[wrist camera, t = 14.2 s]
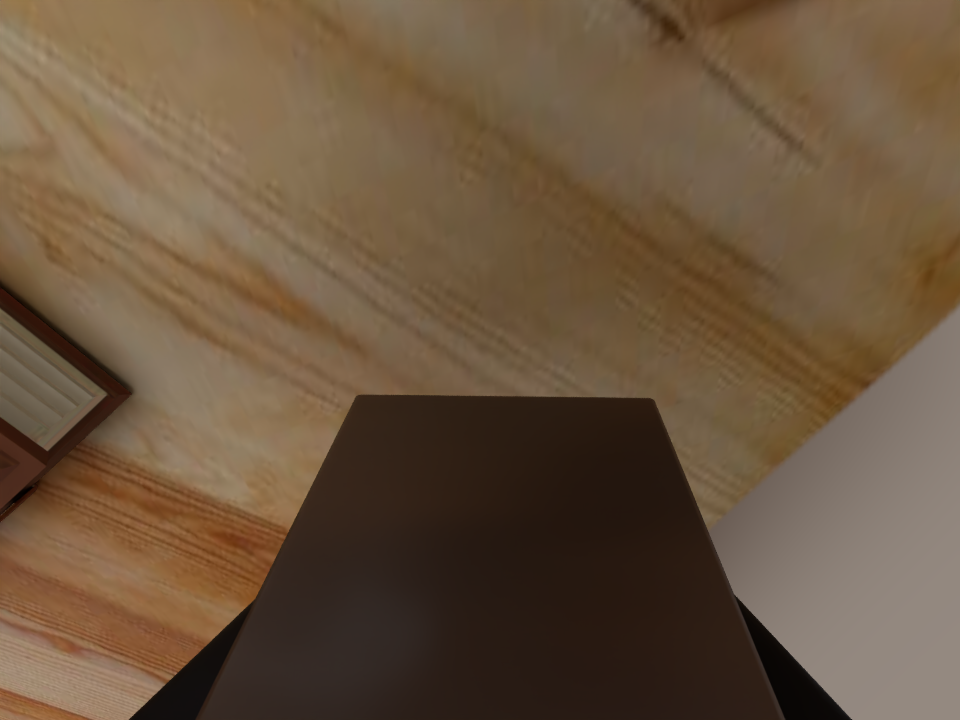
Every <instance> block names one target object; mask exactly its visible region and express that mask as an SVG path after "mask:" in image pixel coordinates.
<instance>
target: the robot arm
mask: <svg viewBox="0 0 960 720" xmlns="http://www.w3.org/2000/svg"><path fill="white" fill-rule="evenodd" d="M734 596H735V595H734ZM735 598H736V601H737V603H738V606H739V608H740V610H741V613H742V615H743V618H744V620H745V623H746V625H747V628H748V630H749V632H750V635H751V637H752V640H753V642H754V645H755V647H756V650H757V652H758V654H759V657H760V659H761V662H762V664H763V667H764V669H765V671H766V674H767V676H768V679H769V681H770V684H771V686H772V689H773V691H774V693H775V696H776V698H777V701H778V703H779V706H780V708H781V711H782V713H783V715H784V718H785V720H852V719H851V718H850V717H849V716H848V715H847V714H846V713H845V712H844V711H843V710H842V709H841V708H840V707H839V705H837V703H836V702H835V701H834V700H833V699H832V698H831V697H830V696H829V695H828V694H827V693H826V692H825V691H824V690H823V688H822V687H821V686H820V685H819V684H818V683H817V682H816V681H815V680H814V679H813V678H812V677H811V676H810V675H809V674H808V672H807V671H806V670H805V669H804V668H803V667H802V666H801V665H800V664H799V663H798V662H797V661H796V660H795V659H794V658H793V656H792V655H791V654H790V653H789V652H788V651H787V650H786V649H785V648H784V647H783V646H782V645H781V644H780V643H779V642H778V641H777V639H776V638H775V637H774V636H773V635H772V634H771V633H770V632H769V631H768V630H767V629H766V628H765V627H764V626H763V625H762V623H761V622H760V621H759V620H758V619H757V618H756V617H755V616H754V615H753V614H752V613H751V612H750V611H749V610H748V609H747V608H746V606H745V605H744V604H743V603H742V602H741V601H740V600H739V599H738V598H737V597H736V596H735ZM254 601H255V600H254ZM254 601H253V602H252V603H251V604H249V605H248V606H247V607H246V608H245V609H244V610H243V611H242V612H241V613H240V614H239V615H238V616H237V617H236V618H235V619H234V620H233V621H232V622H231V623H230V624H229V625H227V626H226V627H225V628H224V629H223V630H222V631H221V632H220V633H219V634H218V635H217V636H216V637H215V638H214V639H213V640H212V641H211V642H210V643H209V644H208V645H207V646H205V647H204V648H203V649H202V650H201V651H200V652H199V653H198V654H197V655H196V656H195V657H194V658H193V659H192V660H191V661H190V662H189V663H188V664H187V665H186V666H185V667H183V668H182V669H181V670H180V671H179V672H178V673H177V674H176V675H175V676H174V677H173V678H172V679H171V680H170V681H169V682H168V683H167V684H166V685H165V686H164V687H163V688H161V689H160V690H159V691H158V692H157V693H156V694H155V695H154V696H153V697H152V698H151V699H150V700H149V701H148V702H147V703H146V704H145V705H144V706H143V707H142V708H141V709H139V710H138V711H137V712H136V713H135V714H134V715H133V716H132V717H131V718H130V719H129V720H196V718H197V716H198V714H199V712H200V710H201V708H202V706H203V704H204V702H205V699H206V697H207V695H208V693H209V691H210V689H211V687H212V685H213V683H214V681H215V679H216V677H217V675H218V673H219V671H220V669H221V667H222V665H223V663H224V661H225V659H226V657H227V655H228V653H229V651H230V649H231V647H232V645H233V643H234V641H235V639H236V637H237V635H238V633H239V631H240V629H241V627H242V625H243V623H244V621H245V619H246V617H247V615H248V613H249V611H250V609H251V607H252V605H253V603H254Z"/></svg>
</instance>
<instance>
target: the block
mask: <svg viewBox="0 0 960 720" xmlns="http://www.w3.org/2000/svg"><path fill="white" fill-rule="evenodd" d="M196 720H785V718H784V715H783V713H782V711H781V708H780V706H779V703H778V701H777V698H776V696H775V693H774V691H773V689H772V686H771V684H770V681H769V679H768V676H767V674H766V671H765V669H764V667H763V664H762V662H761V659H760V657H759V654H758V652H757V650H756V647H755V645H754V642H753V640H752V637H751V635H750V632H749V630H748V628H747V625H746V623H745V620H744V618H743V615H742V613H741V610H740V608H739V606H738V603H737V601H736V598H735V596H734V593H733V591H732V589H731V586H730V584H729V581H728V579H727V576H726V574H725V571H724V569H723V567H722V564H721V562H720V559H719V557H718V555H717V552H716V550H715V547H714V545H713V542H712V540H711V537H710V535H709V532H708V530H707V528H706V525H705V523H704V520H703V518H702V515H701V513H700V510H699V508H698V506H697V503H696V501H695V498H694V496H693V493H692V491H691V489H690V486H689V484H688V481H687V479H686V476H685V474H684V471H683V469H682V467H681V464H680V462H679V459H678V457H677V454H676V452H675V449H674V447H673V445H672V442H671V440H670V437H669V435H668V432H667V430H666V428H665V425H664V423H663V420H662V418H661V415H660V413H659V410H658V408H657V406H656V403H655V401H654V400H653V399H651V398H608V397H524V396H441V395H358V396H356V398H355V400H354V402H353V404H352V406H351V408H350V410H349V412H348V414H347V416H346V418H345V420H344V422H343V424H342V426H341V428H340V430H339V432H338V434H337V436H336V438H335V440H334V442H333V444H332V446H331V448H330V450H329V452H328V454H327V456H326V458H325V460H324V462H323V464H322V466H321V468H320V470H319V472H318V474H317V476H316V478H315V480H314V482H313V484H312V486H311V488H310V490H309V492H308V494H307V496H306V498H305V500H304V502H303V504H302V506H301V508H300V510H299V512H298V514H297V516H296V518H295V520H294V522H293V524H292V526H291V528H290V530H289V532H288V534H287V536H286V538H285V540H284V542H283V544H282V546H281V549H280V551H279V553H278V555H277V557H276V559H275V561H274V563H273V565H272V567H271V569H270V571H269V573H268V575H267V577H266V579H265V581H264V583H263V585H262V587H261V589H260V591H259V593H258V595H257V597H256V599H255V601H254V603H253V605H252V607H251V609H250V611H249V613H248V615H247V617H246V619H245V621H244V623H243V625H242V627H241V629H240V631H239V633H238V635H237V637H236V639H235V641H234V643H233V645H232V647H231V649H230V651H229V653H228V655H227V657H226V659H225V661H224V663H223V665H222V667H221V669H220V671H219V673H218V675H217V677H216V679H215V681H214V683H213V685H212V687H211V689H210V691H209V693H208V695H207V697H206V699H205V702H204V704H203V706H202V708H201V710H200V712H199V714H198V716H197V718H196Z"/></svg>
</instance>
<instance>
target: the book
mask: <svg viewBox="0 0 960 720" xmlns="http://www.w3.org/2000/svg"><path fill="white" fill-rule="evenodd" d="M130 395H132V394H131V393H130V392H129V391H128V390H126V389H125V388H124V387H123V386H122V385H120V384H119V383H118V382H117V381H115V380H114V379H113V378H112V377H110V376H109V375H108V374H107V373H105V372H104V371H103V370H102V369H101V368H99V367H98V366H97V365H96V364H94V363H93V362H92V361H91V360H89V359H88V358H87V357H86V356H84V355H83V354H82V353H81V352H80V351H78V350H77V349H76V348H75V347H73V346H72V345H71V344H70V343H68V342H67V341H66V340H65V339H63V338H62V337H61V336H60V335H59V334H57V333H56V332H55V331H54V330H52V329H51V328H50V327H49V326H47V325H46V324H45V323H44V322H42V321H41V320H40V319H39V318H37V317H36V316H35V315H34V314H33V313H31V312H30V311H29V310H28V309H26V308H25V307H24V306H23V305H21V304H20V303H19V302H18V301H16V300H15V299H14V298H13V297H12V296H10V295H9V294H8V293H7V292H5V291H4V290H3V289H2V288H0V515H1V514H2V513H3V512H4V511H5V510H7V509H8V508H9V507H10V506H11V505H12V504H13V503H15V504H14V505H13V506H12V507H10V508H9V509H8V510H7V511H6V512H5V513H3V514H2V515H1V516H0V522H1V521H2V520H3V519H5V518H6V517H7V516H8V515H9V514H10V513H11V512H13V511H14V510H15V509H16V508H17V507H18V506H19V505H21V504H22V503H23V502H24V501H25V500H26V499H27V498H28V497H29V496H30V495H31V494H33V493H34V492H35V491H36V490H37V485H36V482H37V481H38V480H39V479H40V478H41V477H42V476H43V475H45V474H46V473H47V472H48V471H49V470H50V469H51V468H52V467H53V466H54V465H55V464H57V463H58V462H59V461H60V460H61V459H62V458H63V457H64V456H65V455H66V454H67V453H68V452H70V451H71V450H72V449H73V448H74V447H75V446H76V445H77V444H78V443H79V442H80V441H82V440H83V439H84V438H85V437H86V436H87V435H88V434H89V433H90V432H91V431H92V430H93V429H95V428H96V427H97V426H98V425H99V424H100V423H101V422H102V421H103V420H104V419H105V418H107V417H108V416H109V415H110V414H111V413H112V412H113V411H114V410H115V409H116V408H117V407H118V406H120V405H121V404H122V403H123V402H124V401H125V400H126V399H127V398H128V397H129V396H130Z"/></svg>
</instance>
